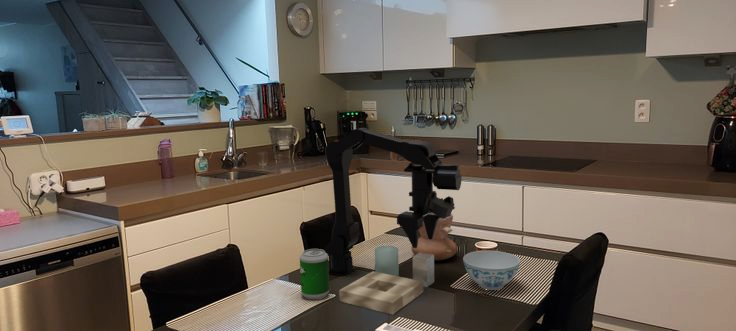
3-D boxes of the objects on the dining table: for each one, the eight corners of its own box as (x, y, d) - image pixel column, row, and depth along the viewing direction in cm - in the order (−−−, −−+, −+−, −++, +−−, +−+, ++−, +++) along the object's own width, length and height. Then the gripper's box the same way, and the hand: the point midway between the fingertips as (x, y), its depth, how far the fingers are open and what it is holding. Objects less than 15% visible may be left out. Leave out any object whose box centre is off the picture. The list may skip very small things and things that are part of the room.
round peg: (371, 277, 152) (370, 250, 151) (383, 270, 158) (382, 244, 156) (391, 281, 148) (390, 254, 147) (402, 273, 154) (402, 247, 153)
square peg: (412, 284, 146) (412, 256, 145) (420, 279, 149) (420, 252, 148) (427, 287, 143) (426, 259, 142) (434, 282, 147) (434, 254, 146)
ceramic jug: (468, 260, 164) (468, 216, 162) (431, 268, 157) (430, 222, 156) (435, 246, 180) (434, 206, 178) (399, 253, 173) (398, 211, 171)
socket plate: (339, 301, 135) (339, 290, 135) (373, 281, 148) (372, 271, 148) (392, 314, 127) (392, 302, 126) (423, 292, 140) (423, 281, 139)
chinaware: (473, 273, 153) (473, 247, 152) (525, 281, 145) (525, 254, 144) (455, 291, 140) (455, 263, 139) (511, 301, 133) (511, 272, 131)
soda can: (333, 291, 142) (332, 248, 140) (322, 302, 135) (320, 257, 133) (308, 288, 144) (306, 246, 143) (296, 299, 137) (294, 255, 136)
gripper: (433, 197, 130) (434, 257, 133) (463, 184, 146) (463, 238, 148) (395, 193, 136) (396, 251, 139) (427, 181, 152) (428, 233, 154)
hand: (423, 243), depth 145 cm, fingers open, 9 cm apart
